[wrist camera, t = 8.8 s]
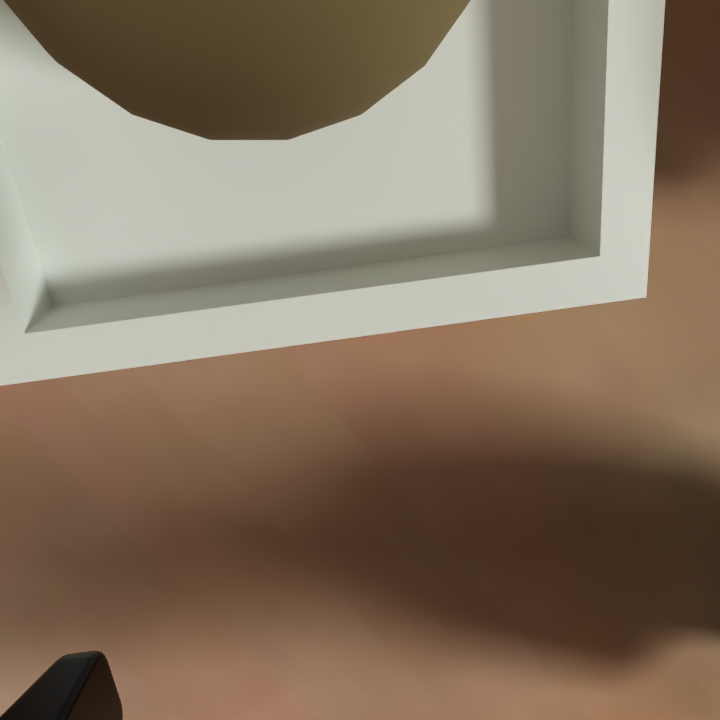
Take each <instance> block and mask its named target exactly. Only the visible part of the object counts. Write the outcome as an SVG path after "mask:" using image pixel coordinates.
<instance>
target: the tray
mask: <svg viewBox="0 0 720 720" xmlns="http://www.w3.org/2000/svg"><path fill="white" fill-rule="evenodd" d="M664 14H665V0H471V1H470V2H469V4H468V5H467V6H466V8H465V9H464V11H463V12H462V14H461V15H460V16H459V18H458V19H457V21H456V22H455V24H454V25H453V26H452V28H451V29H450V31H449V32H448V33H447V35H446V36H445V38H444V39H443V41H442V42H441V43H440V45H439V46H438V48H437V49H436V51H435V52H434V53H433V55H432V56H431V58H430V59H429V61H428V62H427V63H426V65H425V66H424V67H423V68H421V69H420V70H419V71H417V72H416V73H415V74H413V75H412V76H411V77H410V78H408V79H407V80H406V81H404V82H403V83H402V84H400V85H399V86H398V87H397V88H395V89H394V90H393V91H391V92H390V93H389V94H387V95H386V96H385V97H384V98H382V99H381V100H380V101H378V102H377V103H376V104H374V105H373V106H372V107H371V108H369V109H368V110H367V111H365V112H364V113H363V114H361V115H359V116H356V117H353V118H350V119H348V120H345V121H342V122H339V123H336V124H333V125H330V126H327V127H324V128H321V129H318V130H316V131H313V132H310V133H307V134H304V135H301V136H298V137H295V138H292V139H289V140H209V139H205V138H202V137H199V136H196V135H193V134H190V133H187V132H184V131H181V130H178V129H175V128H172V127H169V126H166V125H163V124H160V123H156V122H153V121H150V120H147V119H144V118H141V117H138V116H135V115H132V114H130V113H129V112H128V111H126V110H125V109H123V108H122V107H120V106H119V105H117V104H116V103H115V102H113V101H112V100H110V99H109V98H107V97H106V96H104V95H103V94H102V93H100V92H99V91H97V90H96V89H94V88H93V87H91V86H90V85H89V84H87V83H86V82H84V81H83V80H81V79H80V78H79V77H77V76H76V75H74V74H73V73H71V72H70V71H68V70H67V69H66V68H64V67H63V66H61V65H60V64H58V63H57V62H56V61H55V60H54V59H53V58H52V57H51V56H50V55H49V54H48V53H47V52H46V50H45V49H44V48H43V47H42V46H41V44H40V43H39V42H38V41H37V40H36V39H35V37H34V36H33V35H32V34H31V33H30V31H29V30H28V29H27V28H26V27H25V25H24V24H23V23H22V22H21V21H20V19H19V18H18V17H17V16H16V15H15V14H14V12H13V11H12V10H11V9H10V8H9V6H8V5H7V4H6V3H5V2H4V0H0V386H2V385H9V384H16V383H24V382H31V381H38V380H46V379H53V378H60V377H67V376H75V375H82V374H89V373H97V372H104V371H111V370H119V369H126V368H133V367H140V366H148V365H155V364H162V363H170V362H177V361H184V360H192V359H199V358H206V357H213V356H221V355H228V354H235V353H243V352H250V351H257V350H265V349H272V348H279V347H286V346H294V345H301V344H308V343H316V342H323V341H330V340H338V339H345V338H352V337H360V336H367V335H374V334H381V333H389V332H396V331H403V330H411V329H418V328H425V327H433V326H440V325H447V324H454V323H462V322H469V321H476V320H484V319H491V318H498V317H506V316H513V315H520V314H527V313H535V312H542V311H549V310H557V309H564V308H571V307H579V306H586V305H593V304H600V303H608V302H615V301H622V300H630V299H637V298H644V297H646V294H647V278H648V263H649V247H650V232H651V216H652V200H653V185H654V169H655V154H656V138H657V123H658V107H659V92H660V76H661V61H662V45H663V30H664Z"/></svg>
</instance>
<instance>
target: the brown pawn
mask: <svg viewBox="0 0 720 720" xmlns="http://www.w3.org/2000/svg"><path fill="white" fill-rule="evenodd" d="M470 1H471V0H4V2H5V3H6V4H7V5H8V6H9V8H10V9H11V10H12V11H13V12H14V14H15V15H16V16H17V17H18V18H19V19H20V21H21V22H22V23H23V24H24V25H25V27H26V28H27V29H28V30H29V31H30V33H31V34H32V35H33V36H34V37H35V39H36V40H37V41H38V42H39V43H40V44H41V46H42V47H43V48H44V49H45V50H46V52H47V53H48V54H49V55H50V56H51V57H52V58H53V59H54V60H55V61H56V62H57V63H58V64H60V65H61V66H63V67H64V68H66V69H67V70H68V71H70V72H71V73H73V74H74V75H76V76H77V77H79V78H80V79H81V80H83V81H84V82H86V83H87V84H89V85H90V86H91V87H93V88H94V89H96V90H97V91H99V92H100V93H102V94H103V95H104V96H106V97H107V98H109V99H110V100H112V101H113V102H115V103H116V104H117V105H119V106H120V107H122V108H123V109H125V110H126V111H128V112H129V113H130V114H132V115H135V116H138V117H141V118H144V119H147V120H150V121H153V122H156V123H160V124H163V125H166V126H169V127H172V128H175V129H178V130H181V131H184V132H187V133H190V134H193V135H196V136H199V137H202V138H205V139H209V140H289V139H292V138H295V137H298V136H301V135H304V134H307V133H310V132H313V131H316V130H318V129H321V128H324V127H327V126H330V125H333V124H336V123H339V122H342V121H345V120H348V119H350V118H353V117H356V116H359V115H361V114H363V113H364V112H365V111H367V110H368V109H369V108H371V107H372V106H373V105H374V104H376V103H377V102H378V101H380V100H381V99H382V98H384V97H385V96H386V95H387V94H389V93H390V92H391V91H393V90H394V89H395V88H397V87H398V86H399V85H400V84H402V83H403V82H404V81H406V80H407V79H408V78H410V77H411V76H412V75H413V74H415V73H416V72H417V71H419V70H420V69H421V68H423V67H424V66H425V65H426V63H427V62H428V61H429V59H430V58H431V56H432V55H433V53H434V52H435V51H436V49H437V48H438V46H439V45H440V43H441V42H442V41H443V39H444V38H445V36H446V35H447V33H448V32H449V31H450V29H451V28H452V26H453V25H454V24H455V22H456V21H457V19H458V18H459V16H460V15H461V14H462V12H463V11H464V9H465V8H466V6H467V5H468V4H469V2H470Z"/></svg>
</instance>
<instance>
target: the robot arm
mask: <svg viewBox="0 0 720 720" xmlns="http://www.w3.org/2000/svg"><path fill="white" fill-rule="evenodd" d="M0 720H123V715H122V705H121V701H120V698H119V695H118V692H117V689H116V685H115V682H114V679H113V676H112V673H111V670H110V667H109V664H108V661H107V659H106V657H105V655H104V654H103V653H102V652H99V651H89V652H81V653H73V654H67V655H64V656H62V657H61V658H59V659H58V660H57V661H56V662H55V663H54V664H53V665H52V666H51V667H50V668H49V669H48V670H47V671H46V672H45V673H44V674H43V675H42V676H41V677H40V678H39V679H38V680H37V681H36V682H35V683H34V684H33V685H32V686H31V687H30V688H29V689H28V690H27V691H26V692H25V693H24V694H23V695H22V696H21V697H20V698H19V699H18V700H17V701H16V702H15V703H14V704H13V705H12V706H11V707H10V708H9V709H8V710H7V711H6V712H5V713H4V714H3V715H2V716H1V717H0Z"/></svg>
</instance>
